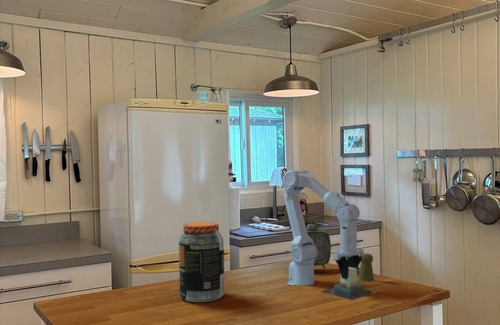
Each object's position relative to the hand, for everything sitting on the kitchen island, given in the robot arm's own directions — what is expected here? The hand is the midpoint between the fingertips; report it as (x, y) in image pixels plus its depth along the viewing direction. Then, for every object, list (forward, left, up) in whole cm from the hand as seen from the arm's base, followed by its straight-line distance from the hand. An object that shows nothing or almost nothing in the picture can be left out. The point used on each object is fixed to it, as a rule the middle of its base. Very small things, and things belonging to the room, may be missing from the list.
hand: (348, 277), depth 176 cm
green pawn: (-7, +19, -6) cm, 21 cm away
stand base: (0, 0, -6) cm, 6 cm away
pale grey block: (0, 0, -3) cm, 3 cm away
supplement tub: (-32, -41, -6) cm, 52 cm away
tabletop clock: (-33, +16, -6) cm, 37 cm away
